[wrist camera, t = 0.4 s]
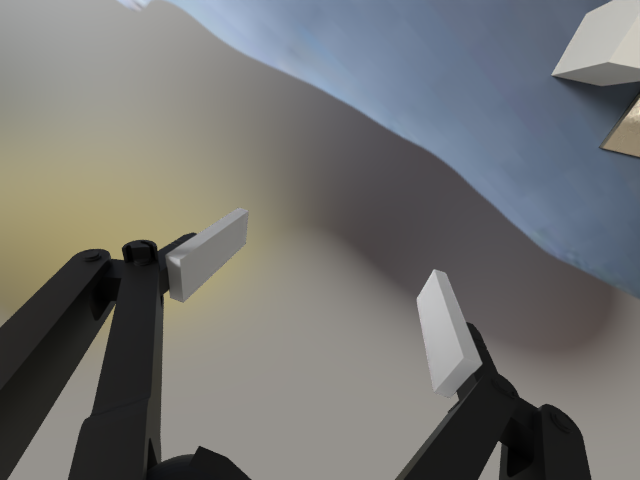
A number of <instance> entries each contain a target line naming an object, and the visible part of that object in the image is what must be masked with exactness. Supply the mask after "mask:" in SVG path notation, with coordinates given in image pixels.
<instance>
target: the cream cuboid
mask: <svg viewBox="0 0 640 480" xmlns="http://www.w3.org/2000/svg"><path fill="white" fill-rule="evenodd" d="M551 76H556V77H561V78H565V79H570V80H575V81H579V82H584V83H589V84H593V85H598V86H607V85H615V84H622V83H630V82H637V81H640V0H613V1H611V2H609V3H607V4H605V5H603V6H601V7H599V8H597V9H595V10H593V11H591V12H589V13H587V14H586V15H585V17H584V19H583V20H582V22H581V24H580V26H579V27H578V29H577V31H576V33H575V34H574V36H573V38H572V40H571V42H570V43H569V45H568V47H567V49H566V50H565V52H564V54H563V56H562V57H561V59H560V61H559V63H558V64H557V66H556V68H555V70H554V71H553V73H552V75H551Z"/></svg>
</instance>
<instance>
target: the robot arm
mask: <svg viewBox="0 0 640 480" xmlns="http://www.w3.org/2000/svg"><path fill="white" fill-rule="evenodd" d="M247 222H248V211H247V210H244V209H241V208H238V209H236V210H234V211H233V212H231V213H230V214H228V215H226V216H225V217H223V218H222V219H220V220H219V221H217V222H216V223H214V224H212V225H211V226H209V227H208V228H206V229H205V230H203V231H202V232H200V233H198V234H196V233H190V234H186V235H183V236H182V237H180V238H178V239H177V240H175V241H174V242H172V243H171V244H169V245H167V246H165V247H164V248H162V249H160V250H159V251H157V246H156V244H155V243H154V242H153V241H149V240H136V241H132V242H129V243H127V244H125V245H124V246H123V247H122V252H123V256H124V260H117V259H111V256H110V253H109V252H108V251H106V250H103V249H89V250H85V251H82V252H79V253H77V254H76V255H74V256H73V257H72V258H71V259H70V260H69V261H68V262H67V263H66V264H65V265H64V266H63V267H62V268H61V269H60V270H59V271H58V272H57V273H56V274H55V275H54V276H53V277H52V278H51V279H49V280H48V281H47V283H46V284H44V285H43V286H42V287H41V288H40V289H39V290H38V291H37V292H36V293H35V294H34V295H33V296H32V297H31V298H30V299H29V300H28V301H27V302H26V303H25V304H24V305H23V306H22V307H21V308H20V309H19V310H18V311H17V312H16V313H15V314H14V315H13V316H12V317H11V318H10V319H9V320H7V322H5V323H4V324H3V325H2V326H1V327H0V480H7V479H8V477H9V476H10V474H11V473H12V471H13V469H14V468H15V466H16V465H17V463H18V461H19V459H20V458H21V457H22V455H23V453H24V452H25V450H26V449H27V447H28V445H29V444H30V442H31V440H32V439H33V437H34V436H35V434H36V432H37V431H38V429H39V427H40V426H41V424H42V423H43V421H44V419H45V418H46V416H47V414H48V413H49V411H50V410H51V408H52V406H53V405H54V403H55V401H56V400H57V398H58V397H59V395H60V393H61V391H62V390H63V388H64V387H65V385H66V384H67V382H68V380H69V379H70V377H71V375H72V374H73V372H74V371H75V369H76V367H77V366H78V364H79V363H80V361H81V359H82V358H83V356H84V354H85V353H86V351H87V350H88V348H89V346H90V344H91V343H92V341H93V340H94V338H95V337H96V335H97V333H98V332H99V330H100V328H101V327H102V325H103V324H104V322H105V320H106V319H107V317H108V315H109V314H110V312H111V310H112V309H113V307H114V306H115V304H116V306H115V310H114V315H113V320H112V324H111V328H110V333H109V338H108V342H107V346H106V351H105V356H104V360H103V365H102V369H101V374H100V379H99V383H98V387H97V392H96V396H95V401H94V405H93V410H92V413H91V415H90V417H88V418H87V419H85V420H84V422H83V424H82V426H81V430H80V433H79V436H78V441H77V445H76V448H75V453H74V457H73V461H72V465H71V469H70V473H69V477H68V480H251V479H250V478H249V477H248V476H247V475H246V474H245V473H244V472H242V471H241V470H240V469H239V468H238V467H237V466H236V465H235V464H234V463H233V462H232V461H231V460H229V459H228V458H227V457H225V456H222V455H220V454H218V453H215V452H213V451H211V450H208V449H206V448H203V447H201V446H199V447H198V449H197V451H196V453H195V454H189V455H181V456H177V457H173V458H171V459H168V460H166V461H163V462H161V442H160V425H161V386H162V347H163V346H162V345H163V309H164V308H163V307H164V305H163V304H164V297H163V294H164V293H166V292H167V291H168V290H169V292H170V298H172V299H175V300H178V301H180V302H184V301H185V300H187V299H188V298H189V297H190V296H191V295H192V294H193V293H194V292H195V291H196V290H197V289H198V288H199V287H200V286H201V285H203V283H205V282H206V281H207V280H208V279H209V278H210V277H211V276H212V275H213V274H214V273H215V272H216V271H217V270H218V269H219V268H220V267H222V266H223V265H224V264H225V263H226V262H227V261H228V260H229V259H230V258H231V257H232V256H233V255H234V254H235V253H236V252H237V251H239V250H240V249H241V248H242V247H243V246H244V245H245V244H246V234H247ZM417 305H418V311H419V316H420V321H421V326H422V332H423V337H424V343H425V347H426V353H427V359H428V363H429V369H430V375H431V380H432V385H433V391H434V393H436V394H439V395H442V396H445V397H447V398H451V397H452V396H453V395H454V394H455V393H456V392H457V395H458V398H459V401H458V402H457V403H456V404H455V405H454V406H453V407H452V408H451V409H450V410H449V411H448V414H447V415H446V416H445V418H444V419H443V420H442V422H441V423H440V424H439V425H438V427H437V428H436V429H435V430H434V432H433V433H432V434H431V435H430V436H429V438H428V439H427V440H426V441H425V443H424V444H423V445H422V447H421V448H420V449H419V450H418V451H417V453H416V454H415V455H414V456H413V458H412V459H411V460H410V461H409V463H408V464H407V465H406V466H405V468H404V469H403V470H402V472H401V473H400V474H399V475H398V476H397V478H396V479H395V480H478V478H479V476H480V475H481V473H482V471H483V469H484V467H485V465H486V463H487V461H488V459H489V457H490V455H491V453H492V452H493V450H494V448H495V446H496V444H497V442H498V441H500V442H501V443H502V447H501V459H500V473H499V480H591V475H590V470H589V465H588V460H587V455H586V450H585V445H584V440H583V436H582V434H581V432H580V430H579V428H578V427H577V425H576V424H575V423H574V422H573V420H571V419H570V417H569V416H568V415H566V414H565V413H564V412H562V411H561V410H560V409H558V408H556V407H554V406H553V405H549V404H545V405H542V406H541V407H539V408H537V407H535V406H533V405H532V404H530V403H528V402H527V401H525V400H523V399H522V398H520V397H519V395H518V393H517V391H516V389H515V388H514V386H513V385H512V384H511V383H510V382H509V381H508V380H507V379H505V378H504V377H503V376H501V375H500V374H498V372H497V370H496V367H495V365H494V363H493V361H492V359H491V356H490V354H489V352H488V350H487V347H486V345H485V343H484V341H483V339H482V336H481V334H480V333H479V331H478V330H477V329H476V327H475V326H474V325H473V324H471V323H468V322H465V319H464V317H463V314H462V312H461V309H460V307H459V304H458V302H457V299H456V297H455V295H454V292H453V290H452V287H451V285H450V282H449V280H448V277H447V275H446V273H444V272H441V271H438V270H435V269H434V270H433V272H432V274H431V276H430V277H429V279H428V281H427V282H426V284H425V286H424V288H423V289H422V291H421V293H420V295H419V296H418V298H417Z"/></svg>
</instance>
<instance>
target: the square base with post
mask: <svg viewBox="0 0 640 480" xmlns="http://www.w3.org/2000/svg"><path fill="white" fill-rule="evenodd" d="M599 148H603V149H607V150H612V151H616V152H620V153H624V154H629V155H633V156H637V157H640V93H639V94H638V95H637V97H636V98H635V99H634V101H633V102H632V103H631V105H630V106H629V107H628V109H627V110H626V112H625V113H624V114H623V116H622V117H621V118H620V120H619V121H618V122H617V124H616V125H615V126H614V128H613V129H612V130H611V132H610V133H609V134H608V136H607V137H606V138H605V140H604V141H603V142H602V144H601V145H600V146H599Z"/></svg>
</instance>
